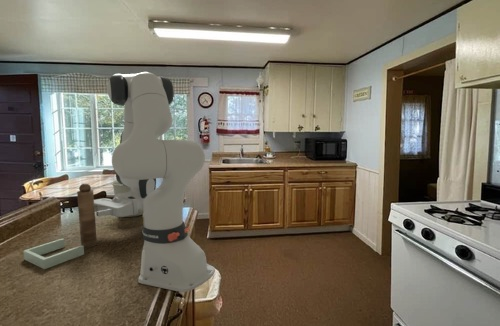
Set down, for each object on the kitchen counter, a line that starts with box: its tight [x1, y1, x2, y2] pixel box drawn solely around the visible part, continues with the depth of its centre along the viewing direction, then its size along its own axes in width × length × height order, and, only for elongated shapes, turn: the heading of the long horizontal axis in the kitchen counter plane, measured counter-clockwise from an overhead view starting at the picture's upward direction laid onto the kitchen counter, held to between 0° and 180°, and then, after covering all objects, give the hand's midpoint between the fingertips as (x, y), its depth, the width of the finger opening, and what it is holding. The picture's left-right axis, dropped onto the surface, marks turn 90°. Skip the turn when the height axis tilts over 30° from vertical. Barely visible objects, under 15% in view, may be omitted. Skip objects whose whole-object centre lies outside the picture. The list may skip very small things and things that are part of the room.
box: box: [22, 238, 85, 270], centre depth 94 cm, size 13×12×3 cm
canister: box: [111, 179, 143, 218], centre depth 140 cm, size 18×18×21 cm
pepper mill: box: [76, 182, 98, 248], centre depth 103 cm, size 5×5×23 cm
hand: (89, 212), depth 103 cm, fingers open, 8 cm apart
